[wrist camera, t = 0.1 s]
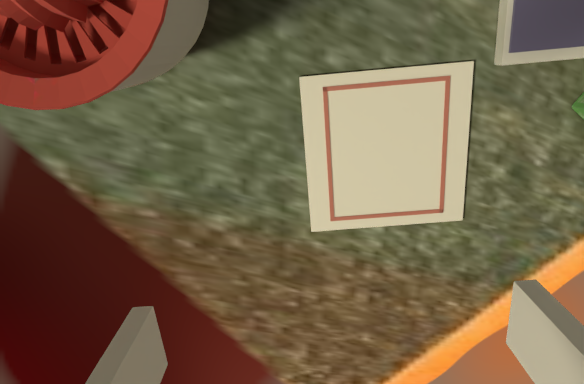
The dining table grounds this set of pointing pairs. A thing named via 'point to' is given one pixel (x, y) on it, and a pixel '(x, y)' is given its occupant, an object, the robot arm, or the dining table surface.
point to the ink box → (579, 106)
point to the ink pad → (539, 31)
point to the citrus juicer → (90, 47)
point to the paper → (387, 145)
